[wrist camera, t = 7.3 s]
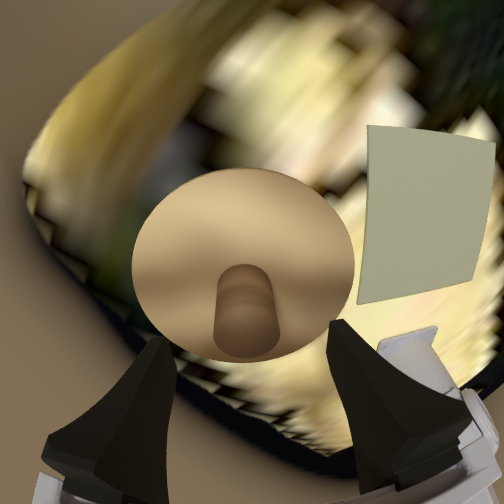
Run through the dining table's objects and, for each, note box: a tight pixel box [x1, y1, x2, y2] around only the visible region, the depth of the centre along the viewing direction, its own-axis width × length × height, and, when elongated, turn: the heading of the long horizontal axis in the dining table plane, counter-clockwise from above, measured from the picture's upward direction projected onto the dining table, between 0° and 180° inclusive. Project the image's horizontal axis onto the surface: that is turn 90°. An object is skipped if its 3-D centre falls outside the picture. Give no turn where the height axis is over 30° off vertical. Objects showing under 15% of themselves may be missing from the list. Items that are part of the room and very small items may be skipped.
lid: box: [132, 167, 355, 363], centre depth 14 cm, size 13×13×5 cm
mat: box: [357, 125, 495, 304], centre depth 20 cm, size 15×15×1 cm
